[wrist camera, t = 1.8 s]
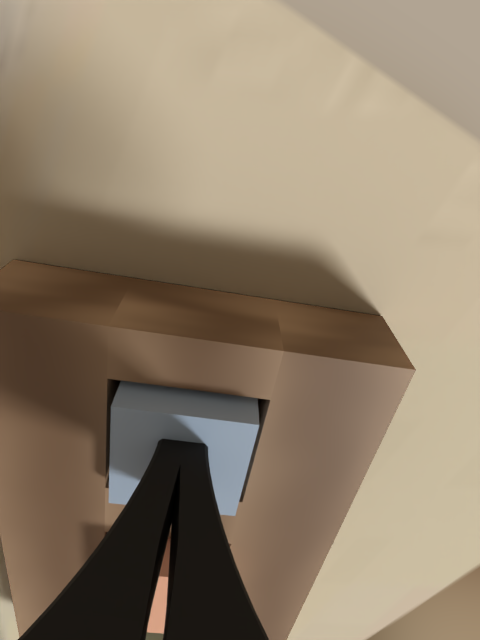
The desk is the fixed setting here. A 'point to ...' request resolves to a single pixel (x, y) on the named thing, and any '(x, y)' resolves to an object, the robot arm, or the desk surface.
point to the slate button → (181, 435)
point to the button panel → (196, 374)
